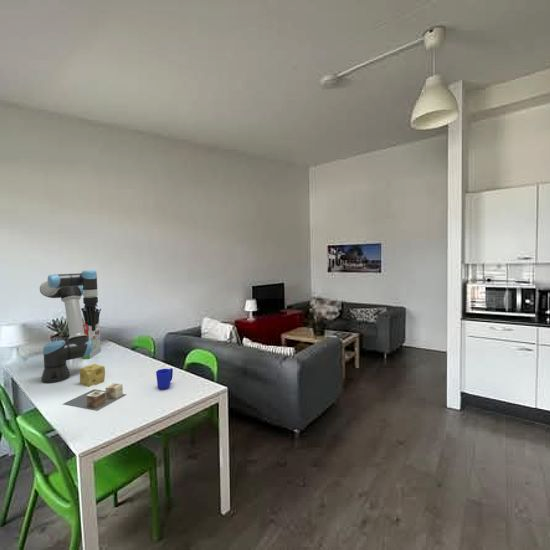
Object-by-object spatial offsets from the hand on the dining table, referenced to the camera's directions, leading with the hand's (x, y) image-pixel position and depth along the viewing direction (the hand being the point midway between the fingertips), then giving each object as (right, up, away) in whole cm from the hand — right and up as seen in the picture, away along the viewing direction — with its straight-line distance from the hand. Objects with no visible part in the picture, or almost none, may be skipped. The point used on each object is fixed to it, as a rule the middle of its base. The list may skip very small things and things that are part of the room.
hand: (92, 336), depth 193 cm
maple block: (+19, -31, -13) cm, 39 cm away
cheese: (-4, -30, +8) cm, 32 cm away
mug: (+43, -30, +1) cm, 53 cm away
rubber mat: (+11, -31, -16) cm, 37 cm away
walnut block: (+15, -25, -23) cm, 38 cm away
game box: (-36, -27, +64) cm, 78 cm away
